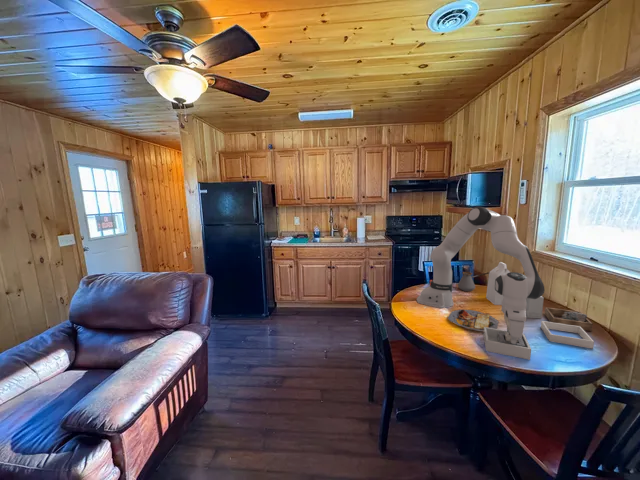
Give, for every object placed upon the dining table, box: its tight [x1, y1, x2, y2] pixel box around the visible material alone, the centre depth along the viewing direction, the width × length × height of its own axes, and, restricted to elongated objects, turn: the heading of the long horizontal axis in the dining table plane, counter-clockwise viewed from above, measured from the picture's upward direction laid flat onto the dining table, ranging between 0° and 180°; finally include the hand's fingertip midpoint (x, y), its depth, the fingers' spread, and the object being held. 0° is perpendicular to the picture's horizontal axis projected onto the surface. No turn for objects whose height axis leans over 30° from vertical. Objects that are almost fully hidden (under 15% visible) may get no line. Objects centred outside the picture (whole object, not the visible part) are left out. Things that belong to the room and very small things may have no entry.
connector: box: [505, 332, 518, 343], centre depth 119 cm, size 4×4×8 cm
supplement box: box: [526, 295, 545, 319], centre depth 150 cm, size 7×7×13 cm
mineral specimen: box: [561, 311, 588, 322], centre depth 140 cm, size 10×8×10 cm
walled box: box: [483, 327, 532, 361], centre depth 121 cm, size 16×14×5 cm
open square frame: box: [540, 320, 595, 349], centre depth 127 cm, size 15×15×4 cm
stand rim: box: [544, 307, 593, 332], centre depth 142 cm, size 15×15×4 cm
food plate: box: [447, 308, 500, 332], centre depth 146 cm, size 25×23×4 cm
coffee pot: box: [457, 271, 490, 292], centre depth 192 cm, size 21×12×15 cm, turn 65°
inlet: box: [497, 332, 525, 347], centre depth 120 cm, size 9×9×4 cm
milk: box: [485, 261, 511, 306], centre depth 170 cm, size 12×12×26 cm
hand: (511, 337), depth 119 cm, fingers open, 8 cm apart
